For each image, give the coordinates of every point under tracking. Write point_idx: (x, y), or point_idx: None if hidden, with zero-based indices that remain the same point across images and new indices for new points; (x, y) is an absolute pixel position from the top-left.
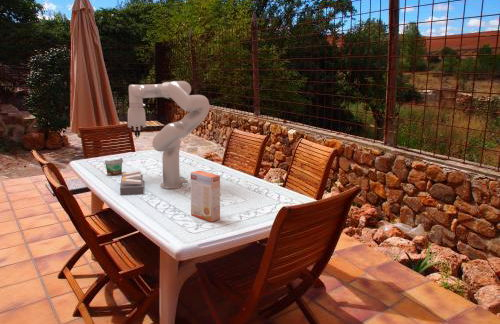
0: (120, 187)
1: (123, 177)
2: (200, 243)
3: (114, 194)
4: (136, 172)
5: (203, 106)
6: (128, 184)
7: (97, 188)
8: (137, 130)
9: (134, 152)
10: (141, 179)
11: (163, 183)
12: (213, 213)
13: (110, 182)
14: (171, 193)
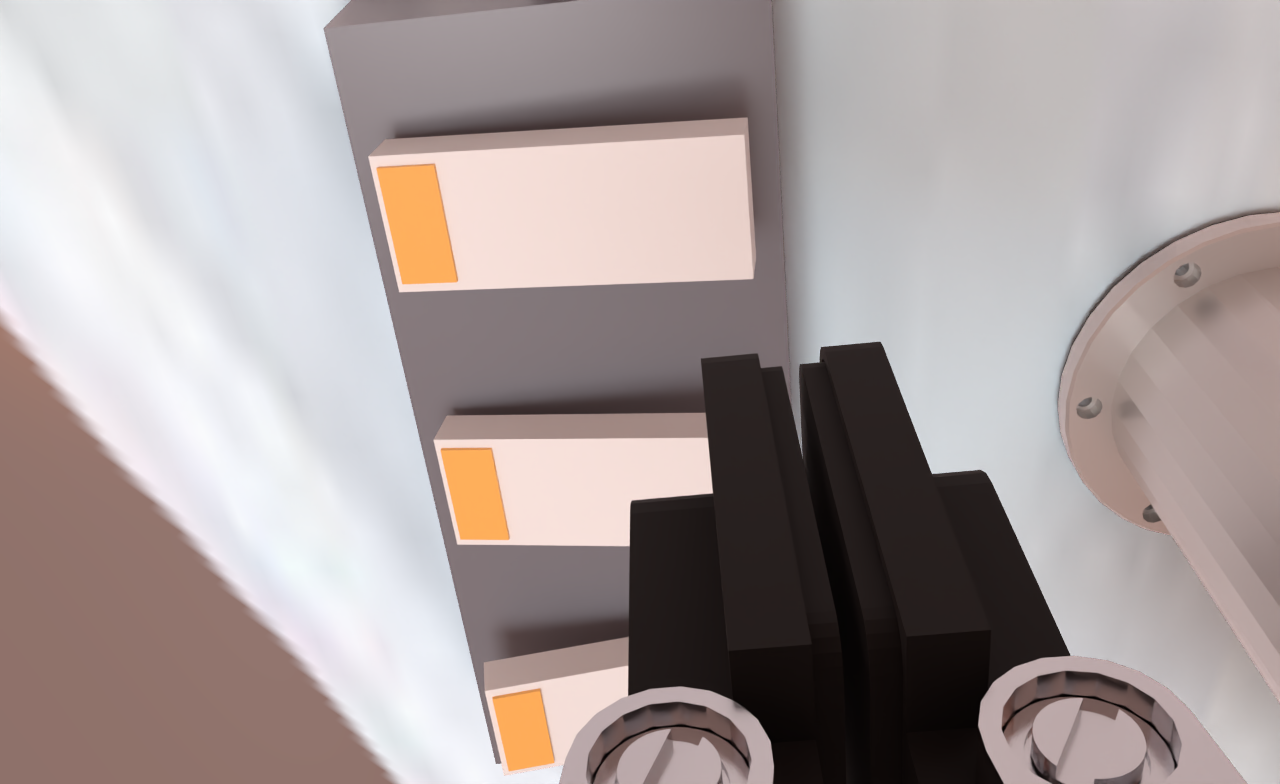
0: (495, 739)
1: (459, 490)
2: None
3: (420, 652)
4: (669, 281)
5: None
6: (582, 627)
7: (68, 379)
8: (883, 761)
9: None
10: None
11: (1124, 451)
12: None
13: (137, 24)
14: (1157, 676)
